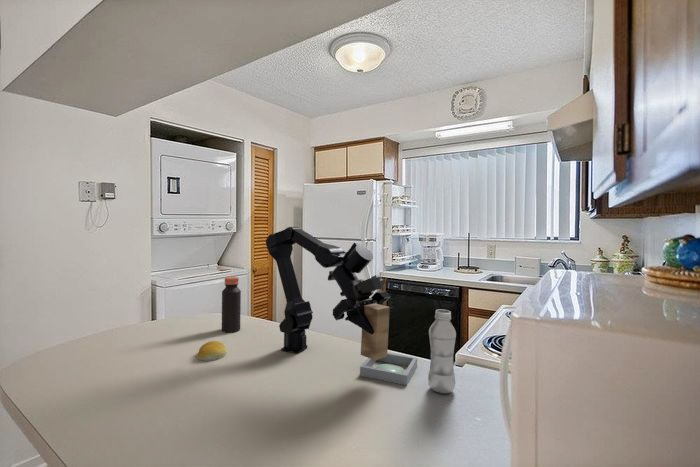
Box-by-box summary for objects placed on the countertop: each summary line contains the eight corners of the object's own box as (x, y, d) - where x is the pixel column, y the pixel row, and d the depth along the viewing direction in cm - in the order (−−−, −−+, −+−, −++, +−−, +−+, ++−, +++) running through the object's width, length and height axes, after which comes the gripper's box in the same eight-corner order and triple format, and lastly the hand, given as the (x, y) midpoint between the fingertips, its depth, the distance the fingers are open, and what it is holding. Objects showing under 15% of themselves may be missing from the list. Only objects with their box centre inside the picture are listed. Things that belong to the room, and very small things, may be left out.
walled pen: (359, 375, 92) (360, 366, 92) (375, 358, 104) (375, 350, 104) (406, 385, 87) (407, 375, 87) (417, 366, 99) (417, 357, 99)
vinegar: (226, 327, 132) (227, 276, 132) (243, 327, 132) (243, 276, 131) (218, 332, 126) (218, 279, 125) (235, 333, 125) (236, 279, 124)
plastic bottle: (454, 399, 81) (456, 316, 80) (425, 393, 83) (427, 312, 82) (455, 387, 87) (458, 309, 86) (429, 382, 89) (431, 307, 88)
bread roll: (195, 363, 99) (195, 349, 99) (200, 351, 107) (200, 339, 107) (225, 360, 101) (225, 347, 101) (227, 349, 109) (228, 337, 109)
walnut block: (360, 354, 89) (363, 305, 89) (372, 350, 93) (374, 303, 93) (375, 360, 86) (377, 309, 86) (387, 355, 89) (389, 306, 89)
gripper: (341, 268, 84) (375, 321, 77) (385, 263, 98) (417, 307, 91) (319, 294, 90) (349, 346, 83) (364, 286, 104) (392, 329, 97)
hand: (379, 331), depth 88 cm, fingers closed on walnut block, 5 cm apart
